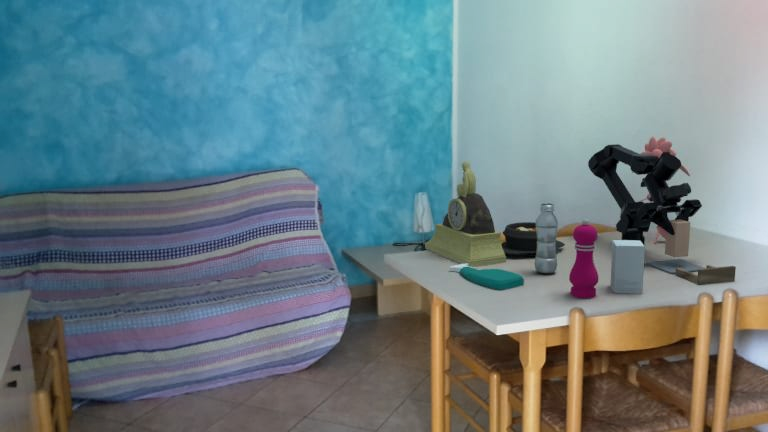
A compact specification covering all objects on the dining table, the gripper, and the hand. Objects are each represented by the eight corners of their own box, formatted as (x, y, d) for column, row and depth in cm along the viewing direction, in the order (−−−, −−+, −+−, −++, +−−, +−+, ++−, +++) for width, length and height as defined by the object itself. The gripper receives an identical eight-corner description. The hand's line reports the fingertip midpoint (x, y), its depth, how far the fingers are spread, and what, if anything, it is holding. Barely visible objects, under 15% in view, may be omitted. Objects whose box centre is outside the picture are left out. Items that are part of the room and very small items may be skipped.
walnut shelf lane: (675, 275, 197) (676, 261, 196) (709, 271, 200) (710, 258, 199) (699, 284, 188) (700, 270, 187) (734, 281, 190) (735, 266, 190)
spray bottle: (497, 292, 186) (441, 274, 206) (528, 286, 192) (470, 268, 212) (497, 282, 185) (441, 264, 206) (528, 275, 191) (470, 259, 211)
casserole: (518, 263, 214) (519, 236, 212) (480, 251, 230) (480, 226, 228) (578, 252, 226) (579, 226, 225) (537, 241, 242) (538, 217, 240)
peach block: (664, 253, 206) (666, 220, 205) (678, 252, 208) (680, 219, 206) (674, 257, 202) (676, 223, 200) (688, 256, 203) (690, 222, 201)
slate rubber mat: (645, 264, 210) (645, 262, 210) (680, 260, 213) (680, 259, 213) (671, 274, 198) (671, 272, 198) (707, 270, 201) (707, 268, 201)
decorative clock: (425, 249, 235) (424, 159, 229) (458, 244, 240) (458, 157, 235) (470, 268, 210) (470, 168, 204) (506, 262, 215) (507, 165, 210)
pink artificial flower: (676, 248, 228) (683, 139, 222) (609, 235, 248) (614, 136, 242) (702, 242, 237) (710, 137, 231) (635, 230, 257) (640, 134, 251)
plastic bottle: (558, 270, 205) (560, 202, 201) (555, 276, 198) (557, 206, 195) (535, 269, 207) (537, 201, 203) (532, 275, 200) (534, 205, 197)
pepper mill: (564, 291, 184) (566, 216, 181) (591, 290, 185) (594, 215, 181) (574, 299, 177) (576, 221, 174) (602, 298, 178) (605, 220, 174)
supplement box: (643, 294, 181) (645, 246, 178) (612, 293, 182) (614, 245, 180) (638, 286, 188) (641, 239, 185) (609, 285, 189) (611, 239, 187)
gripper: (644, 175, 202) (666, 220, 194) (700, 172, 206) (724, 216, 198) (626, 198, 211) (647, 242, 203) (680, 194, 215) (703, 237, 207)
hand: (680, 233), depth 202 cm, fingers closed on peach block, 4 cm apart
